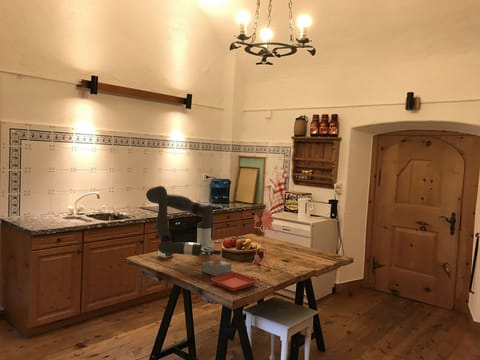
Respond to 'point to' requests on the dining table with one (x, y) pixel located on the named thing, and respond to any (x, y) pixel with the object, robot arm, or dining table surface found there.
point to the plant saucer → (233, 281)
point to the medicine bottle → (164, 254)
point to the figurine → (267, 222)
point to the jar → (217, 246)
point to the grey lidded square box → (216, 268)
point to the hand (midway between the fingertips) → (221, 251)
